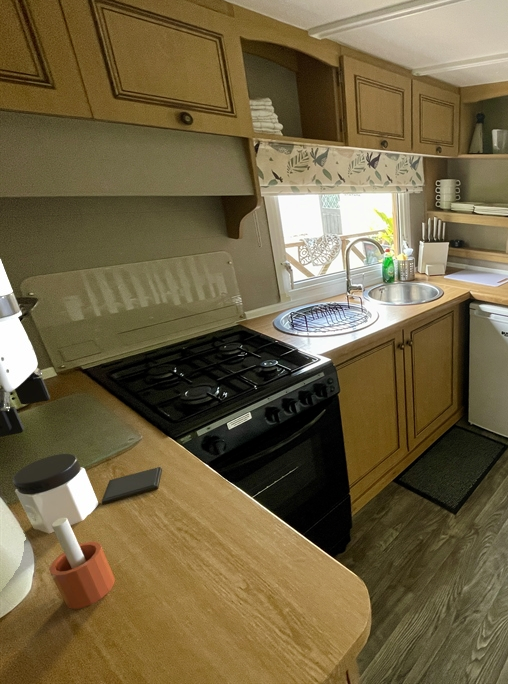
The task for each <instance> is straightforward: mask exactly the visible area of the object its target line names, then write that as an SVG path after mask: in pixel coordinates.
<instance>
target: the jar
mask: <svg viewBox="0 0 508 684" xmlns="http://www.w3.org/2000/svg"><path fill="white" fill-rule="evenodd" d="M12 481H13V486H14V487H15V490H14V493H15V495H16V497H17V498H18V500H19V502H20V504H21V506H22V508H23V510H24V512H25V514H26V516H27V518H28V521H29V523H30V524H31V526H32V528H33V529H34V530H38V531H40V532H42V533H46V534H48V535H49V534H52V533H55V532H54V530H53V528H52V523H53V522H55V521H56V520H58V519H61V518H67V520H68V522H69V524H70V526H72V525H76V524H79V523H81V522H83V521H84V520H85V519H86V518H87V517H88V515H91V514H92V513H93V511H95V509H96V508H97V507H98V506H99V505H100V503H99V501H98V499H97V495H96V494H95V491H94V489H93V486H92V484H91V481H90V479H89V476H88V473H87V471H86V468H84V467H81V465H80V463H79V460H78V458H77V456H76V455H75V454H72V453H61V454H60V453H59V454H54V455H49V456H46V457H43V458H41V459H38V460H35V461H33V462H31V463H28V464H27V465H25V466H24V467H22V468H20V469H19V470H18V471H17V472H15V474H14V475H13V478H12Z"/></svg>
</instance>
